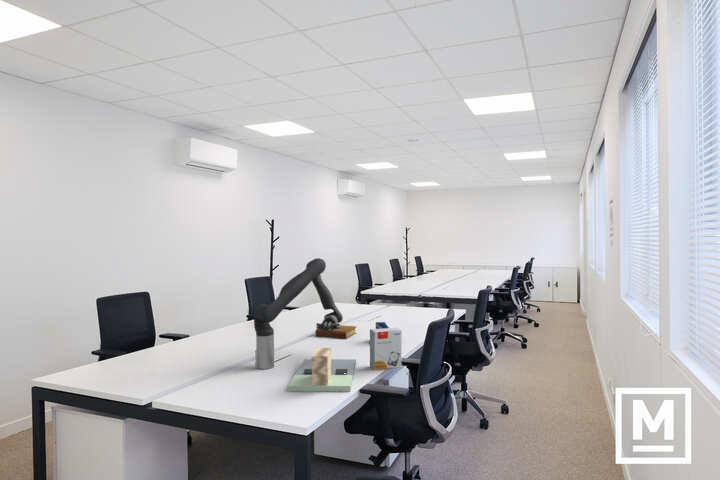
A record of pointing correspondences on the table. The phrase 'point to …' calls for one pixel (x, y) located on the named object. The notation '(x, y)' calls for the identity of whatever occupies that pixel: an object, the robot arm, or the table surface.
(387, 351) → the hard drive box
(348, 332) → the diary
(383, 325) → the phone stand
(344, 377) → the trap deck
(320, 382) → the maple block
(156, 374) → the table surface
